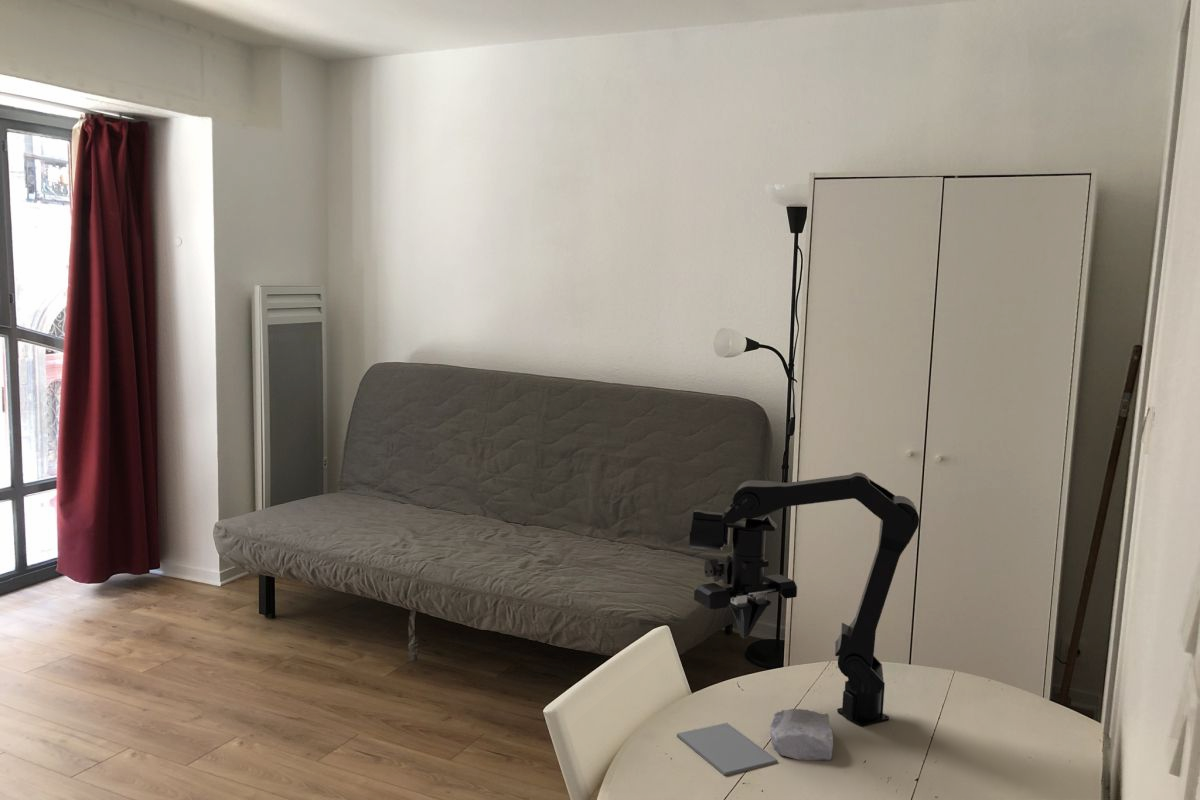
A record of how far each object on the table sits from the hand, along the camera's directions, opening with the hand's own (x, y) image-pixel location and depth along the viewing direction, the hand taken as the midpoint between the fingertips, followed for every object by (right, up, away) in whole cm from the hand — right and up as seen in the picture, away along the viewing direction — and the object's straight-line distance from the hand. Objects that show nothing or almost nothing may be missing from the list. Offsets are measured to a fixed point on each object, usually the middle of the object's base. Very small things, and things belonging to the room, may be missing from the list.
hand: (744, 637), depth 170 cm
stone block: (+2, -13, -13) cm, 19 cm away
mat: (-6, -14, -17) cm, 22 cm away
